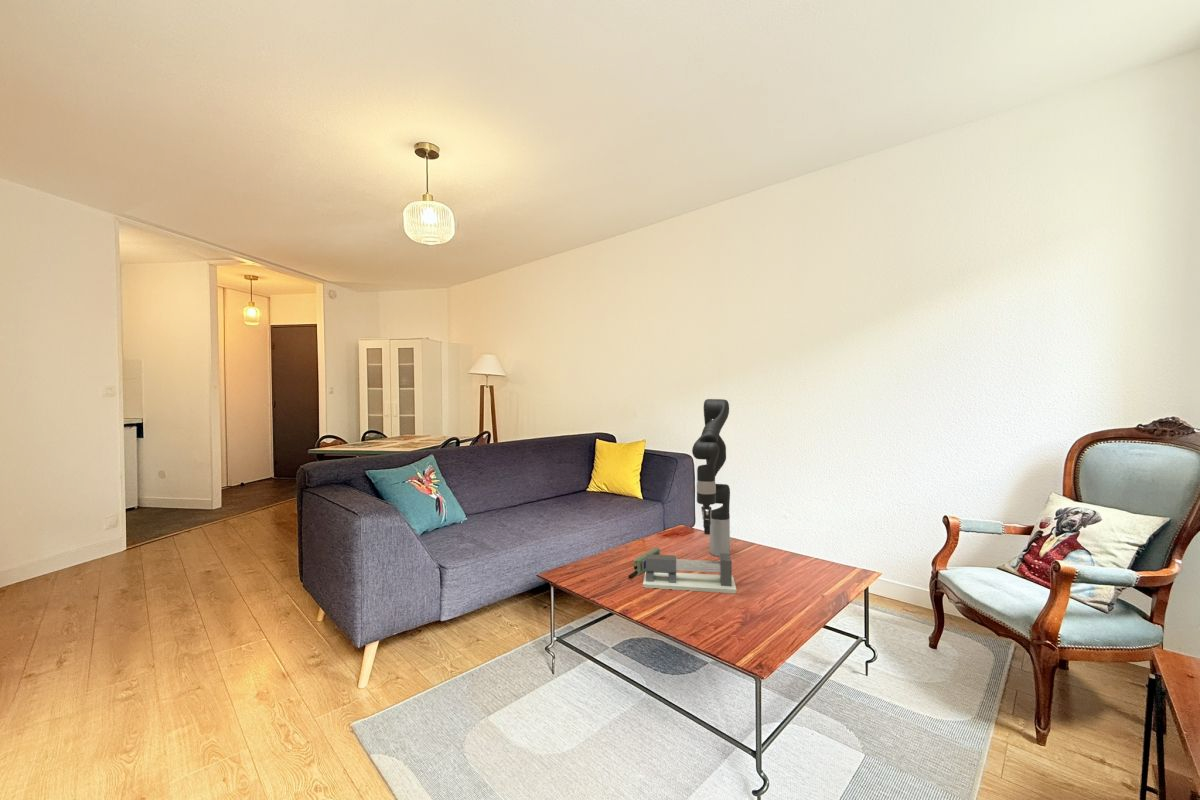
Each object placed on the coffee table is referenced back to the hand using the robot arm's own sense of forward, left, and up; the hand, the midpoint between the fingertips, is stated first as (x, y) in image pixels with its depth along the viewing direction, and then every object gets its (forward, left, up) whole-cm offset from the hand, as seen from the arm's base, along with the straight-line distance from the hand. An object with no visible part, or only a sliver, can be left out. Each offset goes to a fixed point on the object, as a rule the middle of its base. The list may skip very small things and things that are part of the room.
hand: (706, 530), depth 193 cm
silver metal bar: (+2, -4, -15) cm, 16 cm away
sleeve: (+2, -18, -20) cm, 27 cm away
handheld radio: (-11, -26, -22) cm, 36 cm away
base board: (+2, -7, -21) cm, 22 cm away
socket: (+2, +7, -20) cm, 21 cm away
